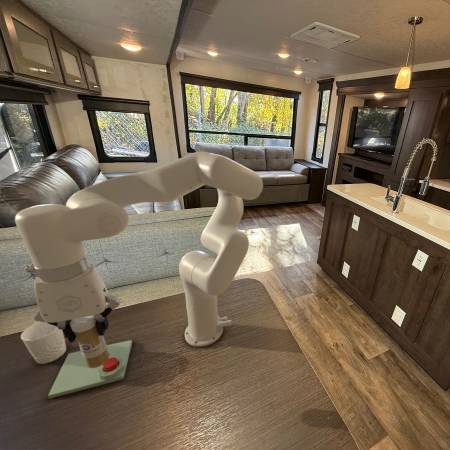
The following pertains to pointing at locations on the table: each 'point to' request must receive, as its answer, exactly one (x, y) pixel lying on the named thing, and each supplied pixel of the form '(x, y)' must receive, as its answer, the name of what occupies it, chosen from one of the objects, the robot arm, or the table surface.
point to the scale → (89, 371)
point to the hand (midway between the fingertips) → (89, 333)
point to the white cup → (44, 342)
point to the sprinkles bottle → (90, 341)
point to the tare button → (110, 364)
